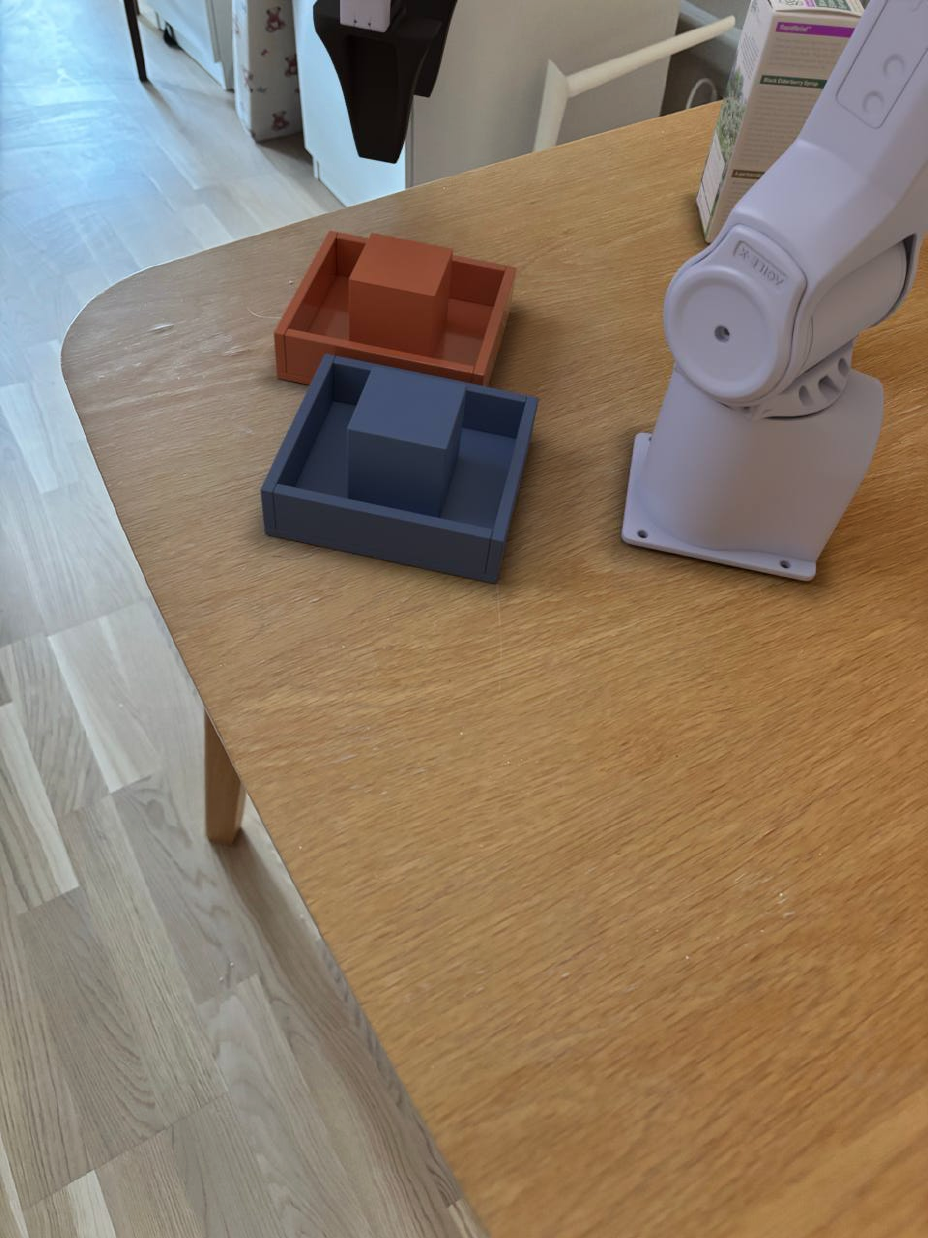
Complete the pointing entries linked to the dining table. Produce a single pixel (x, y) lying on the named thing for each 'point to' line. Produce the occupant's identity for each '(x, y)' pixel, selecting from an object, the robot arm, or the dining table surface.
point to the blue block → (404, 441)
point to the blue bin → (454, 543)
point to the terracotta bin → (324, 329)
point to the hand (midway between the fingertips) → (396, 123)
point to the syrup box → (770, 95)
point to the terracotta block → (400, 295)
